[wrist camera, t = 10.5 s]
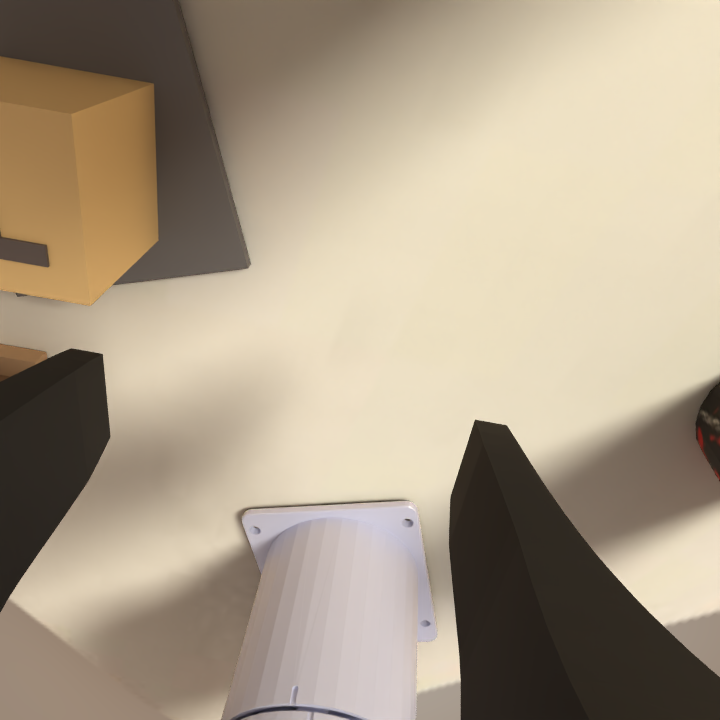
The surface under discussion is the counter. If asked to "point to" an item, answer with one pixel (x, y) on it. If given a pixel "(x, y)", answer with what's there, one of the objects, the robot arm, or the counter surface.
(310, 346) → the counter surface
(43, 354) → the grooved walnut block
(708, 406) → the deodorant
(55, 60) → the charcoal mat
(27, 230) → the lettered cube
